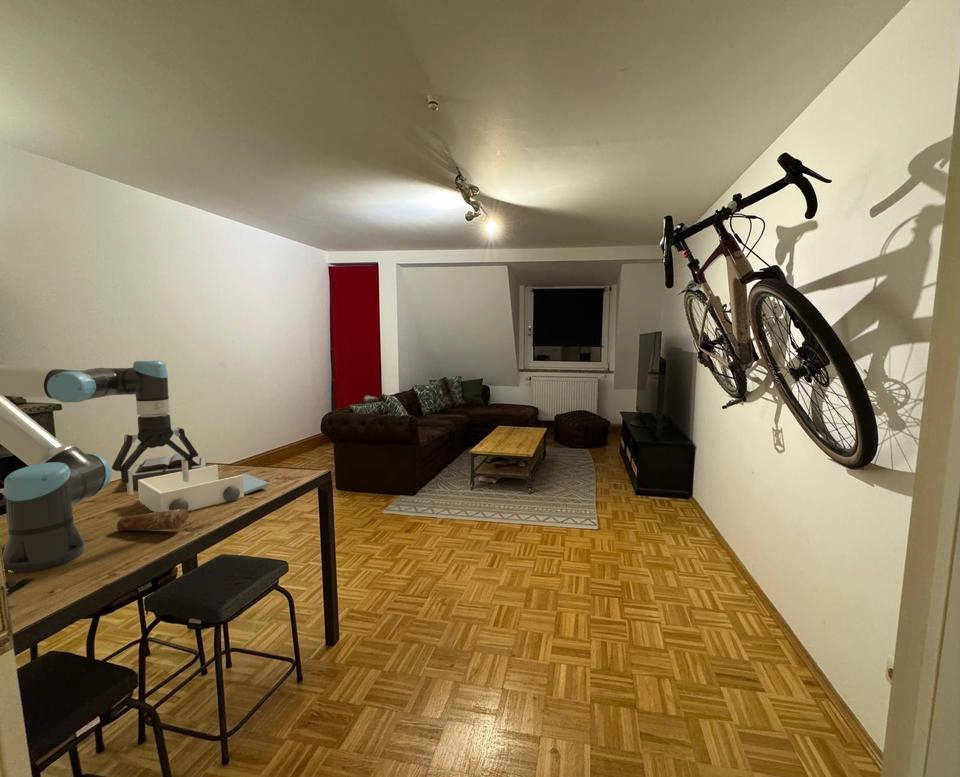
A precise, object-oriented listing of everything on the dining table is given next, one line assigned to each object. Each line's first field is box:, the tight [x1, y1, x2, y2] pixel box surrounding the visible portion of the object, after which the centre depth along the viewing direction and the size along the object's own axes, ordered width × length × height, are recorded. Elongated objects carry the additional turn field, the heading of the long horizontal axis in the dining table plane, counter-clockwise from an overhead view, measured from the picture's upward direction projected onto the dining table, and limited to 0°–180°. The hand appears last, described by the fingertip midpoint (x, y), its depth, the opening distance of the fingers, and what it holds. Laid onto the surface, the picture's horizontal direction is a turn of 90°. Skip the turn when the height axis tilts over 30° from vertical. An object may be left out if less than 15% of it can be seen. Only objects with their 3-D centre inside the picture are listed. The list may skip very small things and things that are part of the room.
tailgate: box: [237, 473, 270, 495], centre depth 168 cm, size 1×20×10 cm
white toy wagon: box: [137, 464, 245, 513], centre depth 154 cm, size 25×25×8 cm
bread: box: [116, 509, 189, 532], centre depth 128 cm, size 6×19×6 cm, turn 90°
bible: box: [131, 451, 207, 490], centre depth 176 cm, size 23×27×10 cm
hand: (159, 487), depth 127 cm, fingers open, 13 cm apart
